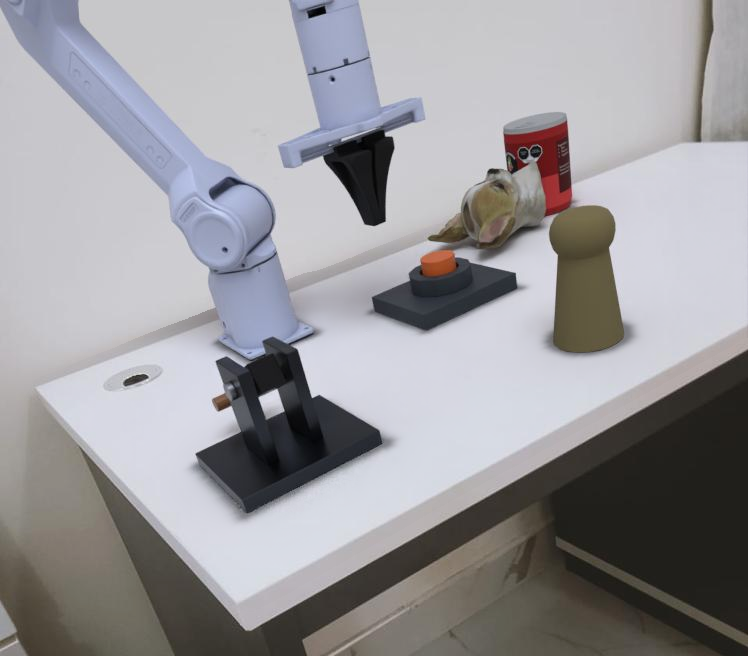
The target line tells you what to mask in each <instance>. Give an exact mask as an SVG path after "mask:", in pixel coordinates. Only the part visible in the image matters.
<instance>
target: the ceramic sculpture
mask: <svg viewBox="0 0 748 656" xmlns="http://www.w3.org/2000/svg"><path fill="white" fill-rule="evenodd" d="M545 212H546V204H545V194H544V191H543V187H542V183H541V176H540V172H539V170H538V166H537V164H536V162H535V161H533V162H531V163H530V164H529V165H528V166H526V167H524V168H522V169H521V170H519V171H517V172H515V173H514V174H513V175H511V173H510V172H509V171H507V169H504V168H493V167H492V168H488V170H487V171H486V175H485V179H484V180H483V181H481V182H479V183H476V184H474V185H473V186H471V187H470V188H468V189H467V191H466V192H465V193H464V195H463V198H462V200H461V205H460V212H458V213H456V214H455V216H454V217H452V218H451V219H449V220H448V221H447V222H446V224H445V225H444V227H443V228H442V229H440V231H439V232H438V234H431V235H429V236H428V237H427V240H428V241H429V242H432V243H433V242H434V243H445V244H454V243H458V242H459V243H460V242H462V241H465V240H466V239H468V238H471V239H473V240H474V241H476V243H477V244H476V245H475V247H476V248H477V249H479V250H480V249H484V250H493V249H495V248H499V247H501V246H502V245H503V244H505V242H506V241H507V240H508V238H509V237H510V236H511V235H513V234H514V233H515V232H516V231H517V230H519V229H520V228H530V227H536V226H539V225H540V224H541V223H542V221H543V220H544V218H545V216H544V215H545Z"/></svg>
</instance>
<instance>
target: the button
mask: <svg viewBox="0 0 748 656" xmlns="http://www.w3.org/2000/svg"><path fill="white" fill-rule="evenodd" d="M455 257H456V256H455V252H454V250H451V249H442V250H434V251H432V252H429V253H426V254H424V255H423V256H421V257H420V258H419V261H420V265H421V268H422V273H423V276H439V275H443V274H447V273H449V272H452V271H454V270H456V269H457V268H456V262H455Z"/></svg>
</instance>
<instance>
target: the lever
mask: <svg viewBox="0 0 748 656" xmlns="http://www.w3.org/2000/svg"><path fill="white" fill-rule="evenodd" d="M244 367H245V368H246V369H248V370H249V371H250V374H251V377H252V380H253V383H254V386H255V389H256V391H257V394H258V397H259V398H261V397H263V396H265V395H267V394H270V393H271V392H274V391H276V390H278V388H279V387H281V386H282V385H284V384H285V383H287V381H286V379H285V377H284V375H283V373H282V370H281V368H280V366H279V364H278V362H277V360H276V358H275V356H274V354H273V353H271V354H269V355H266V354H265V355H264V356H261V357H259V358H256V359H255V360H253V361H251V362H248V363H247V364H245V365H244ZM211 402H212V405H213V408H214V409H215V411H216V412H222V411H224V410H226V409H228V408H230V407H232V406H231V403H230V401H229V398H228V397H227V395H226V393H225V392H224V393H222V394H219V395H217V396H215V397H213V398H212V399H211Z"/></svg>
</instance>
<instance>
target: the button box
mask: <svg viewBox="0 0 748 656" xmlns="http://www.w3.org/2000/svg"><path fill="white" fill-rule="evenodd" d="M455 262H456V268H457V269H456V270H454V271H452V272H449V273H447V274H443V275H439V276H423V273H422V268H421V264H419V265H417V266H414V268H412V270H410V271H409V272H408V278H409V280H408V281H405V282H403V283H400V284H397V285H396V286H393V287H391V288H389V289H387V290H384V291H382V292H380V293H377V294H374V295H372V296H371V302H372V307H373V310H374V312H375V313H377V314H380V315H383V316H385V317H388V318H391V319H393V320H396V321H399V322H402V323H405V324H408V325H410V326H413V327H415V328H419V329H421V330H424V331H429V330H431V329H433V328H435V327H438V326H440V325H442V324H444V323H446V322H448V321H450V320H453V319H455V318H457V317H458V316H461V315H464V314H465V313H467V312H470V311H471V310H474V309H476V308H478V307H481V306H482V305H484V304H488V302H490V301H493V300H495V299H497V298H500V297H502V296H503V295H506V294H508V293H510V292H512V291H515V290H516V289H518V281H517V280H518V279H517V273H516V272H514V271H509V270H506V269H500V268H497V267H492V266H488V265H482V264H480V263H479V264H478V263H474V262H470V260H469V259H468V258H463V257H459V256H457V257H456V256H455Z"/></svg>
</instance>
